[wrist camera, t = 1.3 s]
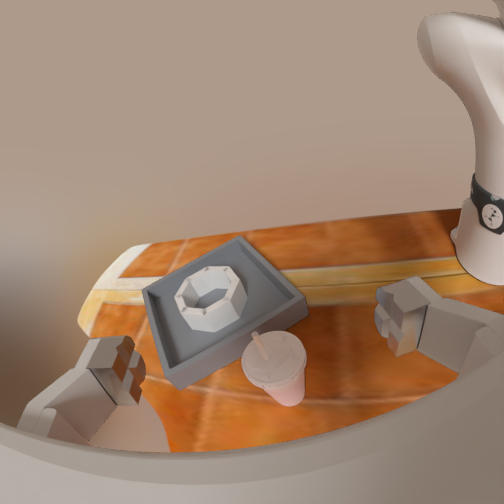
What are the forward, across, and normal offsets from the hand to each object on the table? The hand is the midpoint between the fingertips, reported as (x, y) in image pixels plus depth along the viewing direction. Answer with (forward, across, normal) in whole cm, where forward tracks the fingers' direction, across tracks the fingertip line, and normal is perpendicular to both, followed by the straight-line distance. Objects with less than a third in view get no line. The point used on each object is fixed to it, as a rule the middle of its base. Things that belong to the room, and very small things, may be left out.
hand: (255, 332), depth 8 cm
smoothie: (+14, -2, +24) cm, 28 cm away
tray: (+32, +7, +21) cm, 39 cm away
